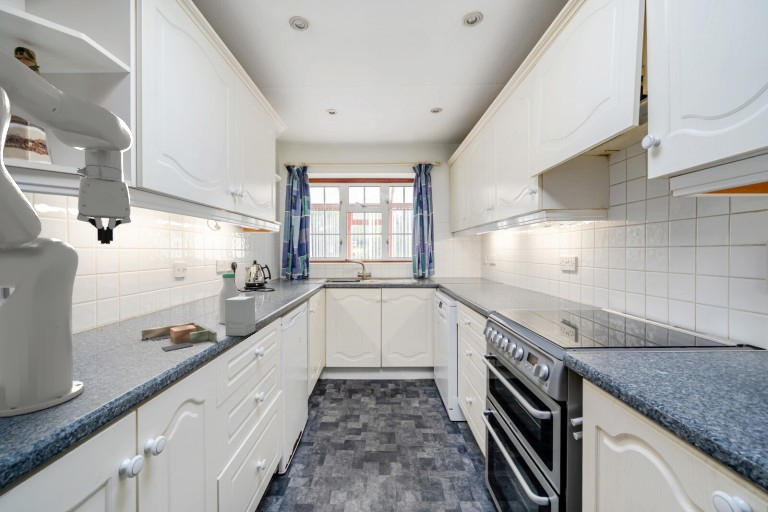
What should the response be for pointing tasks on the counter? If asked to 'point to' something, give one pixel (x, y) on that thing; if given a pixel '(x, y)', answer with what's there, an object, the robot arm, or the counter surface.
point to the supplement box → (239, 316)
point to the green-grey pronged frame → (199, 335)
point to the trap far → (161, 337)
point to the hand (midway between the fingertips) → (105, 243)
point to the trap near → (177, 346)
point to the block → (181, 333)
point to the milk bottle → (226, 294)
